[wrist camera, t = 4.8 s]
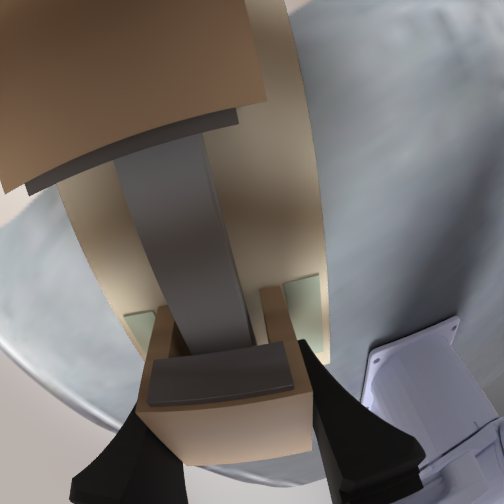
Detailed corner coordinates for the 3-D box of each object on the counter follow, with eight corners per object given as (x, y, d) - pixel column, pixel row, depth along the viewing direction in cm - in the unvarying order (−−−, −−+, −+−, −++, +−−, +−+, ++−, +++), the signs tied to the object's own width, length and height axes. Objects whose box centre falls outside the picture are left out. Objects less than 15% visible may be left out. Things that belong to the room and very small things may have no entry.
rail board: (325, 351, 17) (359, 441, 11) (169, 382, 16) (162, 473, 11) (267, -30, 7) (314, -123, 1) (38, 44, 7) (-67, 32, 1)
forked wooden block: (288, 360, 15) (311, 450, 10) (190, 375, 14) (187, 465, 10) (279, 279, 12) (312, 385, 7) (156, 301, 12) (130, 407, 7)
